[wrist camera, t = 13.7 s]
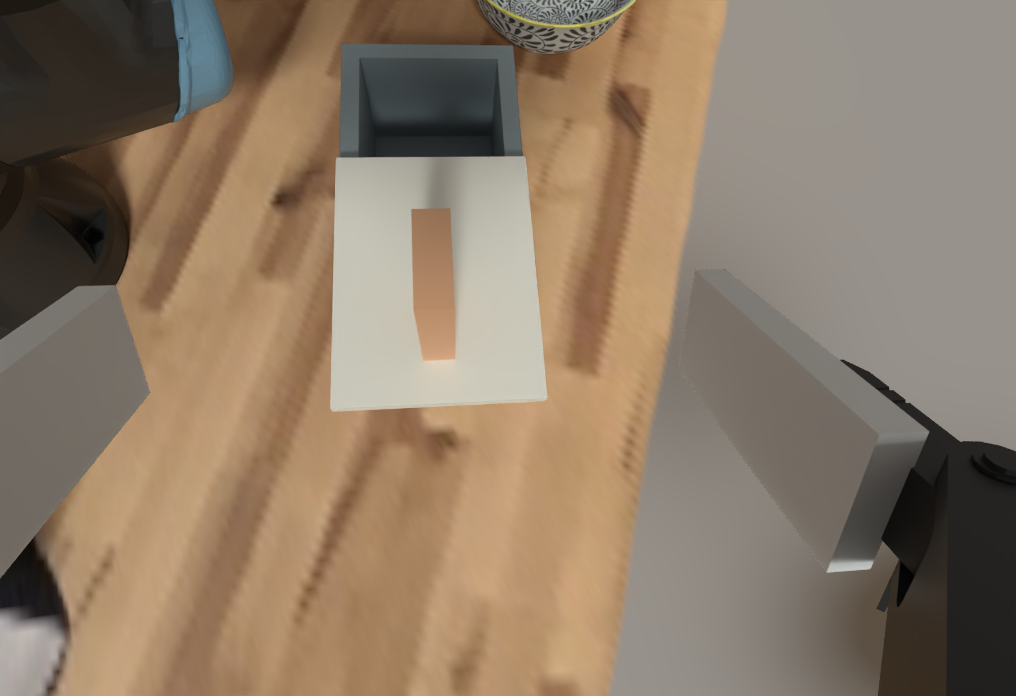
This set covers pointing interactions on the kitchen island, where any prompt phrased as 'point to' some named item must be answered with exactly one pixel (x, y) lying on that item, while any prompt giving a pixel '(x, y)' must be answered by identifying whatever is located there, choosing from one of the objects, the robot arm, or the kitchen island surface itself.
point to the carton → (428, 101)
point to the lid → (434, 284)
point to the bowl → (552, 22)
